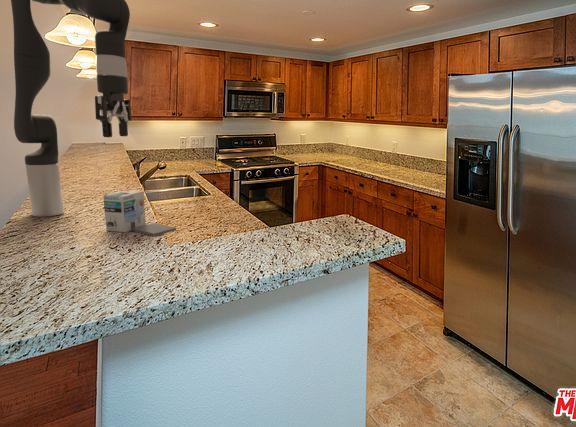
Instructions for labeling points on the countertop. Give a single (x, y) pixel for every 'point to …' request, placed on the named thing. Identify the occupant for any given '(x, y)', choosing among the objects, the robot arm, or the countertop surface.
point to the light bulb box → (124, 210)
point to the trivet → (154, 229)
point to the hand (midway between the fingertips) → (116, 136)
